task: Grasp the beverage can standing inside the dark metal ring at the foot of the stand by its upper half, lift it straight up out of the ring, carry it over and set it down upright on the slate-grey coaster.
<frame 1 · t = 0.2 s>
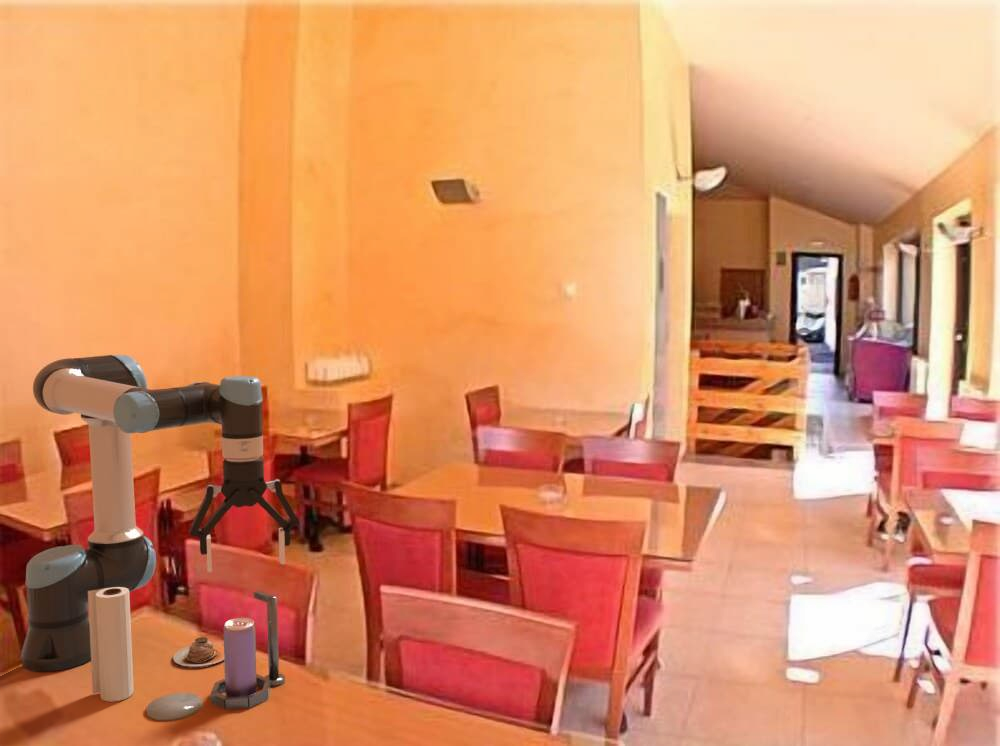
hand: (246, 566, 176), 27 cm above the table, fingers open, 13 cm apart
beverage can: (241, 697, 180), resting in stand
stand: (241, 696, 180), on the table
coaster: (174, 707, 175), on the table
paper towel roll: (115, 695, 181), on the table
pastry: (202, 660, 198), on the table
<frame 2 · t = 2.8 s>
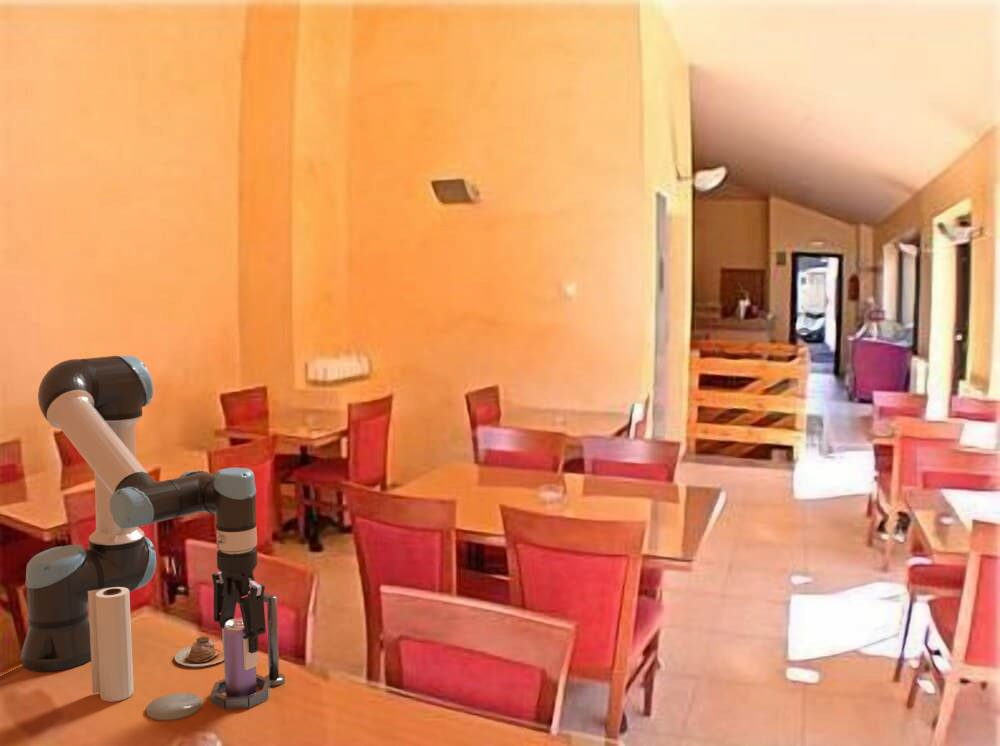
hand: (240, 662, 179), 7 cm above the table, fingers closed on beverage can, 6 cm apart
beverage can: (241, 697, 180), resting in stand, touching gripper
everything else where it was.
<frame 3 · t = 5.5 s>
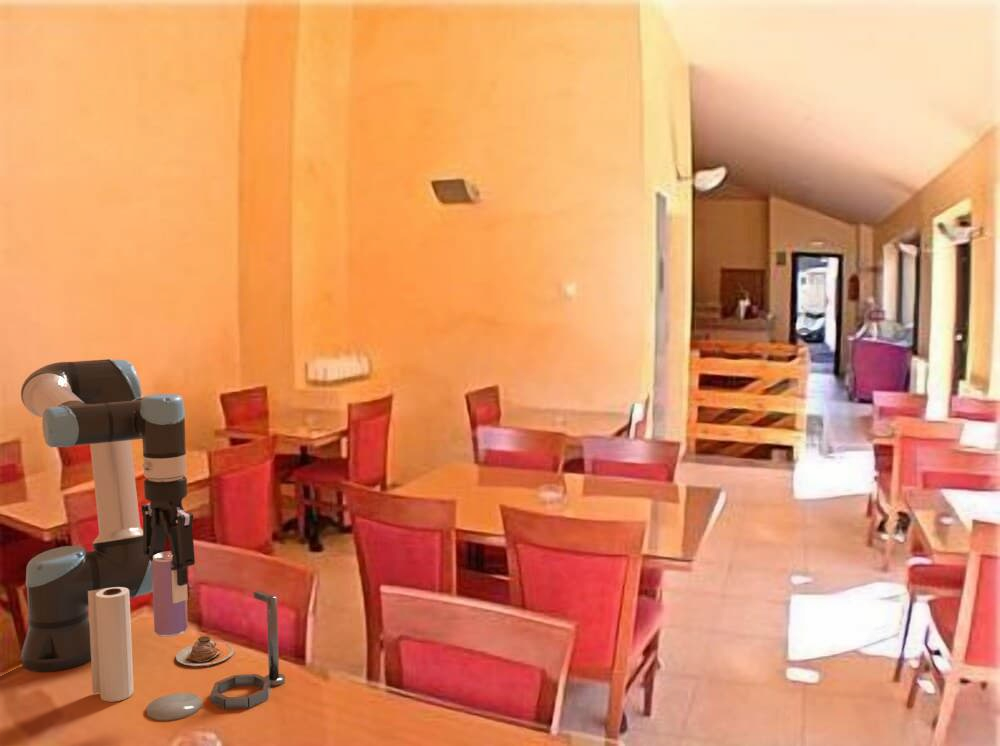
hand: (170, 596, 173), 22 cm above the table, fingers closed on beverage can, 6 cm apart
beverage can: (171, 632, 174), point 15 cm above the table, touching gripper
everything else where it was.
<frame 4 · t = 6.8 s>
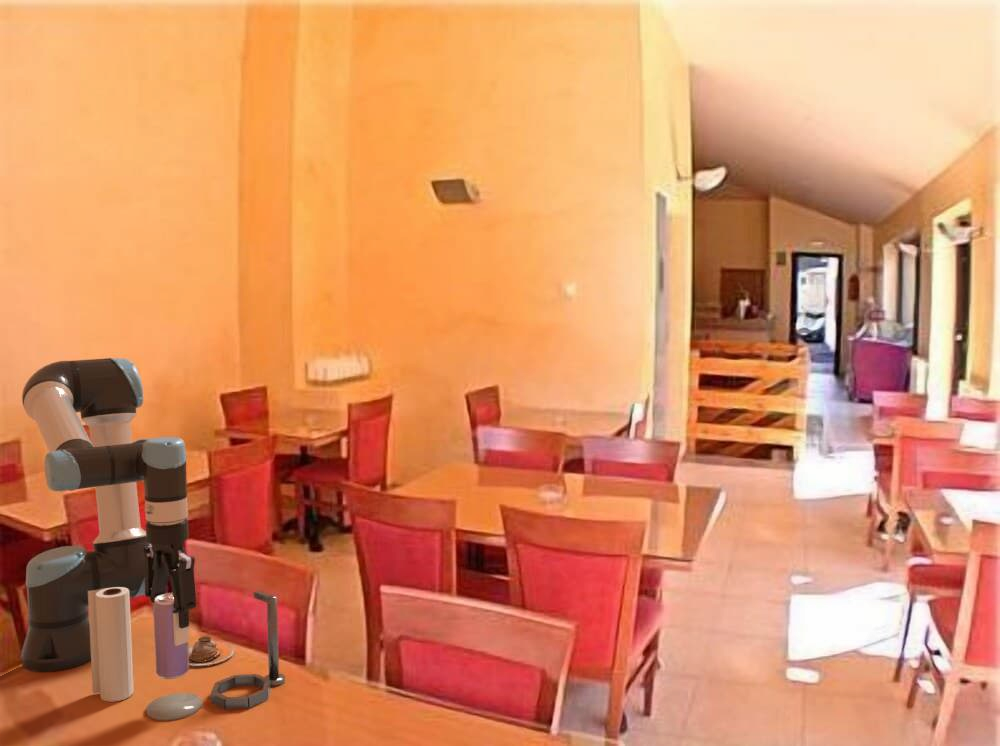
hand: (171, 638, 174), 14 cm above the table, fingers closed on beverage can, 6 cm apart
beverage can: (173, 674, 174), point 7 cm above the table, touching gripper
everything else where it was.
when the fingers open (8 cm above the table, at t = 8.2 s): beverage can stays where it is, resting on coaster.
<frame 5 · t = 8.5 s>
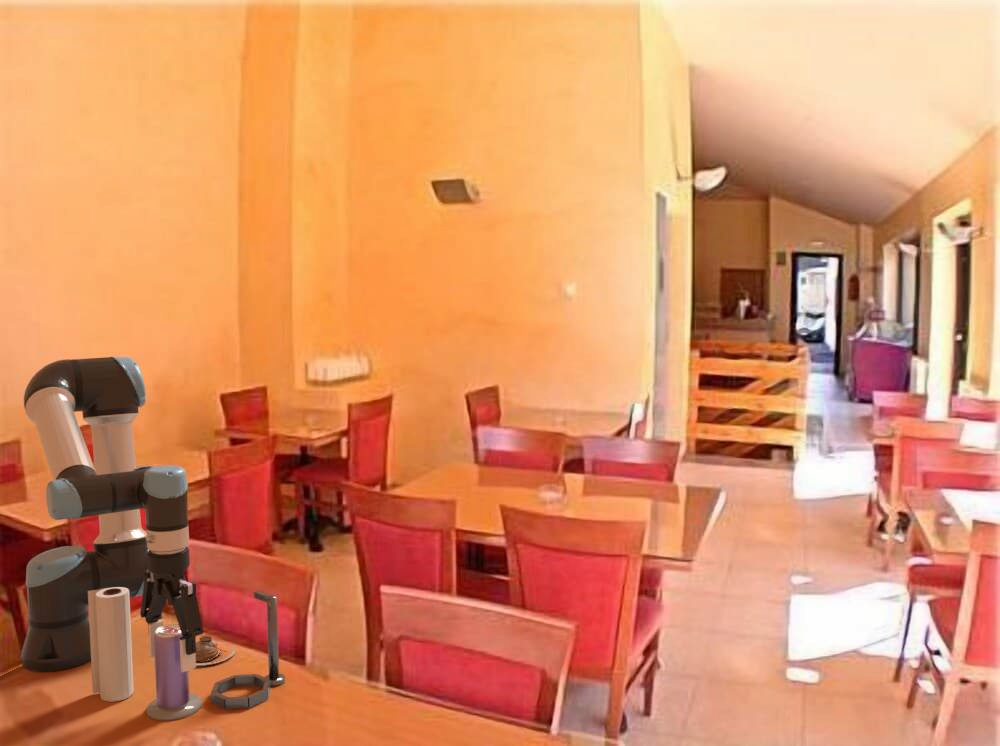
hand: (172, 662, 174), 9 cm above the table, fingers open, 10 cm apart
beverage can: (173, 705, 175), resting on coaster
everything else where it was.
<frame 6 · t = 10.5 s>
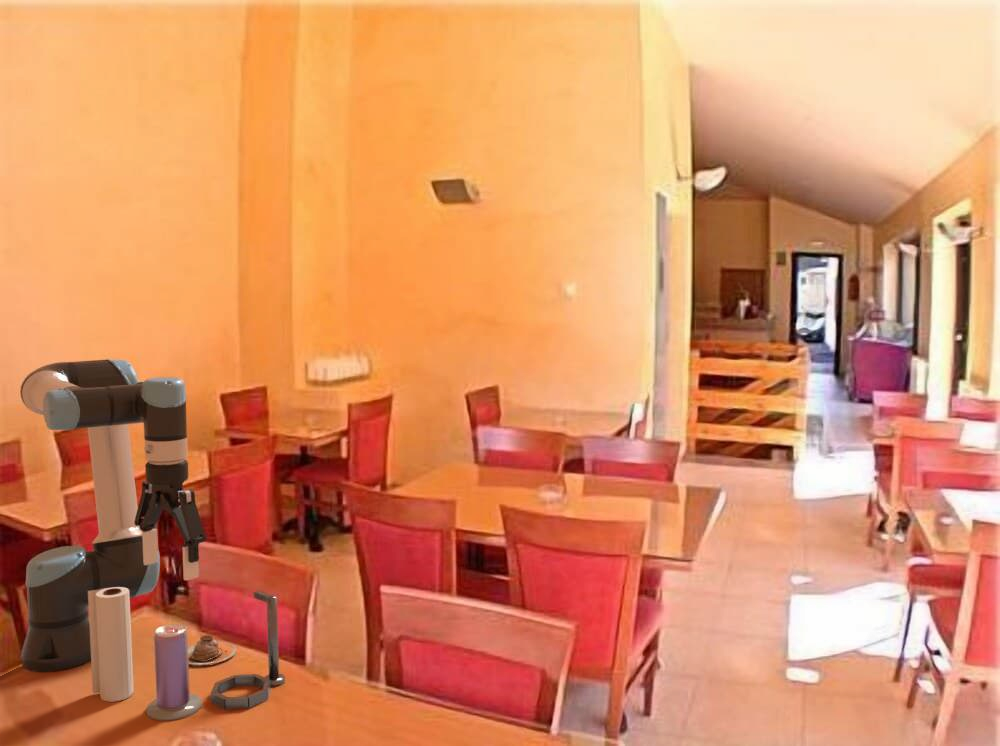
hand: (170, 570, 173), 27 cm above the table, fingers open, 13 cm apart
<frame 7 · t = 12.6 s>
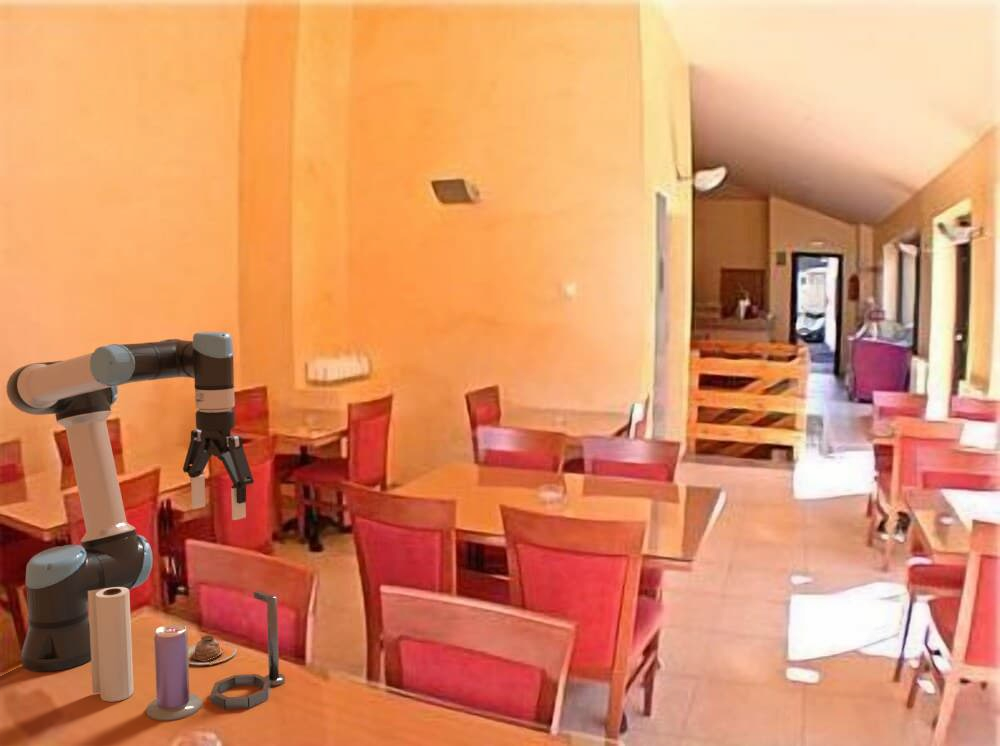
hand: (218, 513, 185), 35 cm above the table, fingers open, 13 cm apart
at the end: beverage can 0.2 cm from the coaster (horizontally); beverage can tilted 0°; the gripper is holding nothing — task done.
